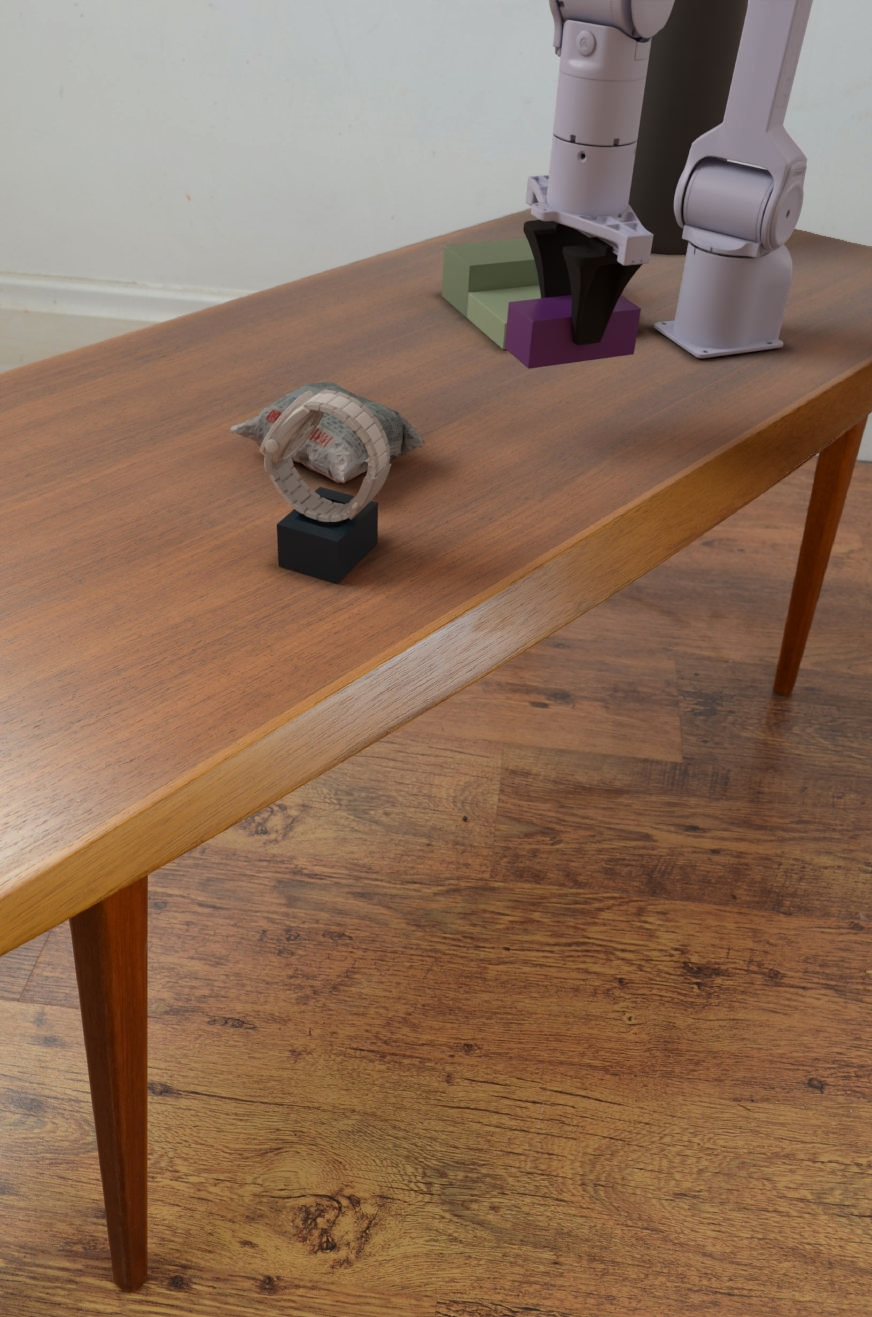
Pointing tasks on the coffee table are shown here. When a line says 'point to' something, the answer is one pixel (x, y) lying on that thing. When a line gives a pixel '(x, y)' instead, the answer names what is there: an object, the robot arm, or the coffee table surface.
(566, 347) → the purple rectangular block
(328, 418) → the packaged food
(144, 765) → the coffee table surface
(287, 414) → the watch
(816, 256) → the coffee table surface
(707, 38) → the vase
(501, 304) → the step shelf
